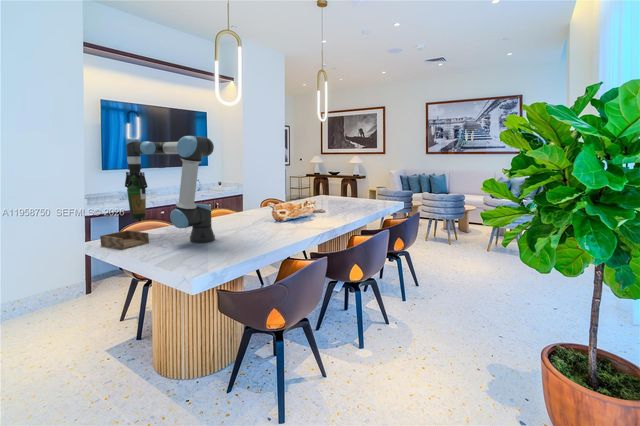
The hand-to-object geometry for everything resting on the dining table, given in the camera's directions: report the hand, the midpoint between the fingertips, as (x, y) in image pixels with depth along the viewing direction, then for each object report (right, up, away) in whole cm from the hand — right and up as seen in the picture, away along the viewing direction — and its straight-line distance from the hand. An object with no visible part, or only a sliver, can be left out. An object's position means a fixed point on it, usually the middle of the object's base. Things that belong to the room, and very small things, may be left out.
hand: (136, 198), depth 233 cm
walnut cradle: (+1, -28, -15) cm, 32 cm away
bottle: (0, -13, +2) cm, 13 cm away
